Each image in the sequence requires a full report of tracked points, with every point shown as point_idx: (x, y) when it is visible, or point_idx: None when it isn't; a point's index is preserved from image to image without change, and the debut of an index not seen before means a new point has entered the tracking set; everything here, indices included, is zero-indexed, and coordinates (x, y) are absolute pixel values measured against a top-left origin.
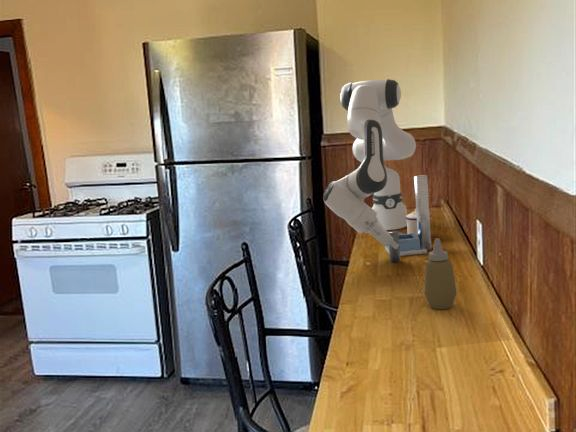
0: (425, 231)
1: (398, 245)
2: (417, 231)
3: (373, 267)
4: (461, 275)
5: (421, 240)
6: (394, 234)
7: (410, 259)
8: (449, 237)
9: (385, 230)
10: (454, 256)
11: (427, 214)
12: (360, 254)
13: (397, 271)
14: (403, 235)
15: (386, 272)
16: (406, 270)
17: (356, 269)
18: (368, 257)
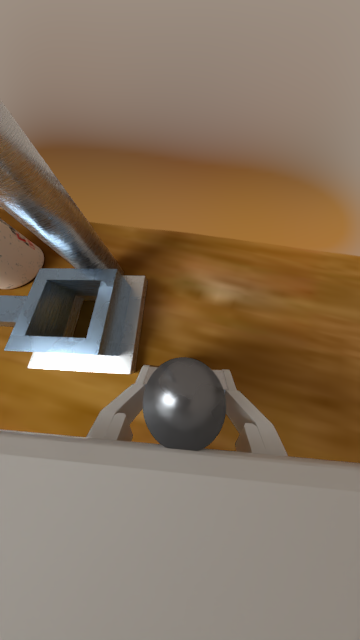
0: (91, 234)
1: (229, 371)
2: (7, 256)
3: None
4: (348, 263)
5: (103, 268)
6: (222, 397)
7: (184, 329)
8: None
9: (318, 592)
10: (199, 242)
11: (19, 126)
12: None
13: (294, 395)
14: (39, 303)
15: (300, 434)
16: (288, 367)
17: None
18: None
